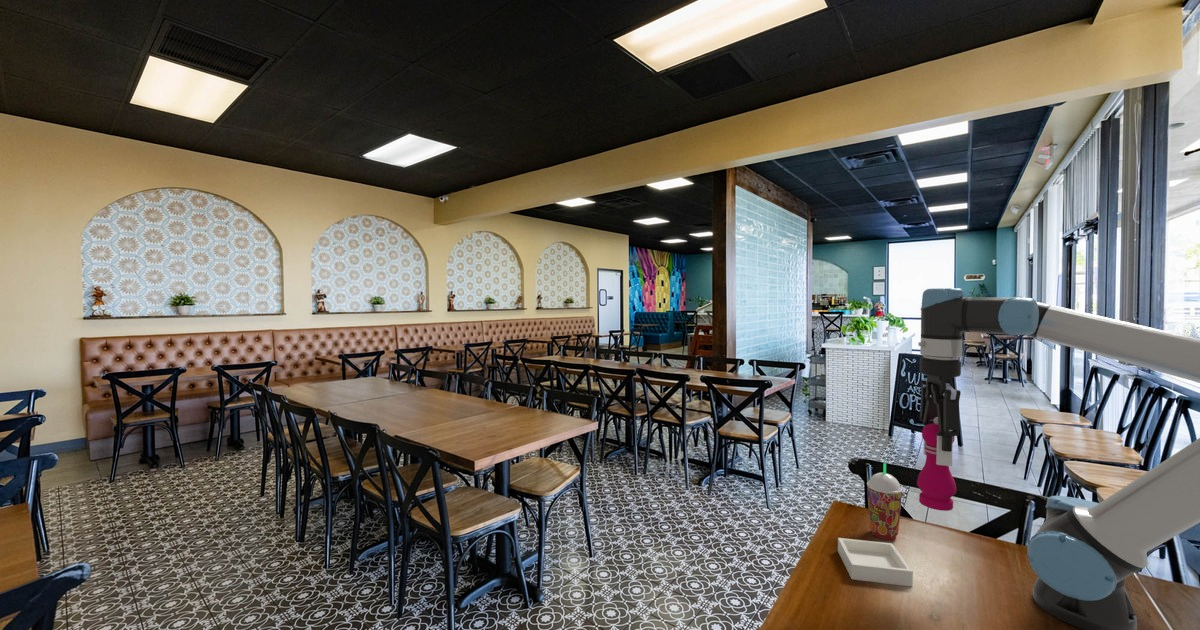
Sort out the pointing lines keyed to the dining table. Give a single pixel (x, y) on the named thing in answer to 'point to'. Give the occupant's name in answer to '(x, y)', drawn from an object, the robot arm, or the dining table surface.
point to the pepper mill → (935, 474)
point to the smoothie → (884, 505)
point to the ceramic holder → (874, 562)
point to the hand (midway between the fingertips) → (937, 459)
